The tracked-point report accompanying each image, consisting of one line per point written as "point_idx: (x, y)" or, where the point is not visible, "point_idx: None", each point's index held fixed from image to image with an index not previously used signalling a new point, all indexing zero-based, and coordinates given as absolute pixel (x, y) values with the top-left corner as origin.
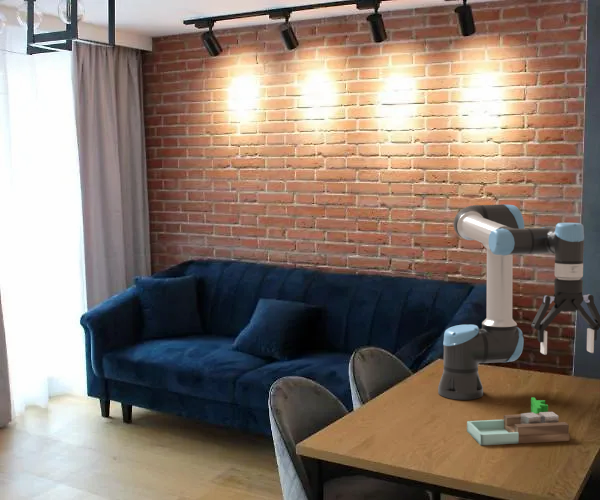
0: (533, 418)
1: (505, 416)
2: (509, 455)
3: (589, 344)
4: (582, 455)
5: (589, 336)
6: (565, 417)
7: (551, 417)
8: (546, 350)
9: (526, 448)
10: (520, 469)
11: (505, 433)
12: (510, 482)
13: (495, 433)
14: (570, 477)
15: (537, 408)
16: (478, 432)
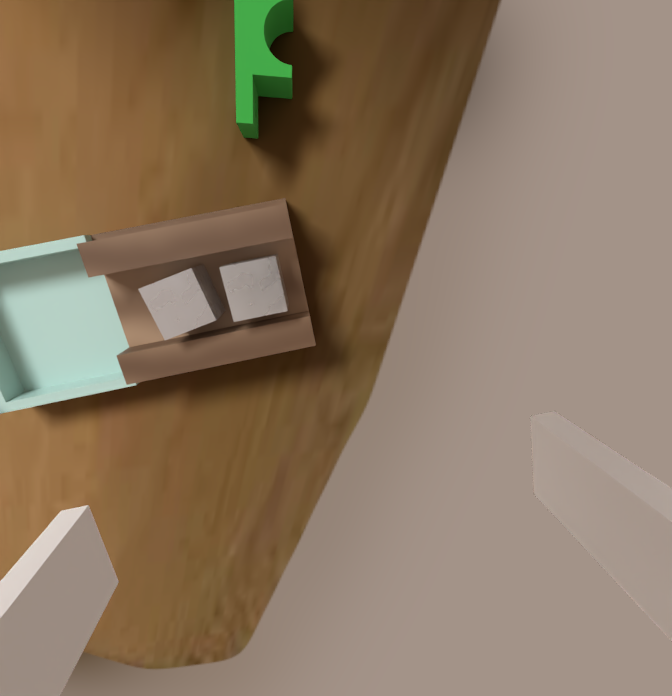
0: (187, 331)
1: (83, 261)
2: (114, 468)
3: (580, 510)
4: (321, 450)
5: (657, 578)
6: (366, 75)
7: (259, 316)
8: (96, 617)
9: (170, 412)
10: (138, 554)
11: (89, 392)
12: (108, 624)
13: (53, 395)
14: (255, 582)
15: (237, 123)
16: None
